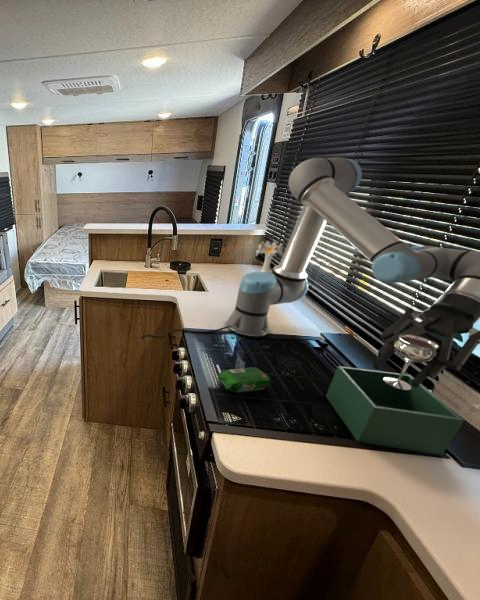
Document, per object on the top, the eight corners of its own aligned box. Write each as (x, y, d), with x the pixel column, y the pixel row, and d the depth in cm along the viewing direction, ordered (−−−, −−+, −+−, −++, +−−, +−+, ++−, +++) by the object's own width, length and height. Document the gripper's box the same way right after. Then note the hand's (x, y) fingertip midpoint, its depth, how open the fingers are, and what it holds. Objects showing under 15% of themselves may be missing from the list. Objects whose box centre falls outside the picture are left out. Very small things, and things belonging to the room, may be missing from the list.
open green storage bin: (357, 441, 75) (374, 407, 70) (325, 396, 90) (337, 365, 85) (441, 455, 71) (464, 420, 67) (393, 406, 86) (410, 374, 81)
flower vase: (266, 280, 181) (277, 237, 171) (279, 291, 164) (292, 245, 154) (243, 278, 183) (252, 237, 173) (253, 290, 166) (264, 244, 156)
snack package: (212, 382, 96) (214, 368, 94) (257, 376, 98) (261, 363, 96) (225, 398, 89) (228, 383, 87) (273, 391, 91) (277, 377, 89)
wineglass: (407, 395, 71) (430, 351, 66) (372, 378, 77) (391, 337, 72) (422, 388, 73) (446, 345, 69) (388, 372, 79) (407, 331, 74)
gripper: (530, 329, 65) (452, 408, 66) (411, 296, 82) (351, 359, 83) (533, 310, 61) (450, 395, 62) (408, 279, 78) (344, 347, 79)
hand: (394, 375), depth 73 cm, fingers closed on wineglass, 7 cm apart
